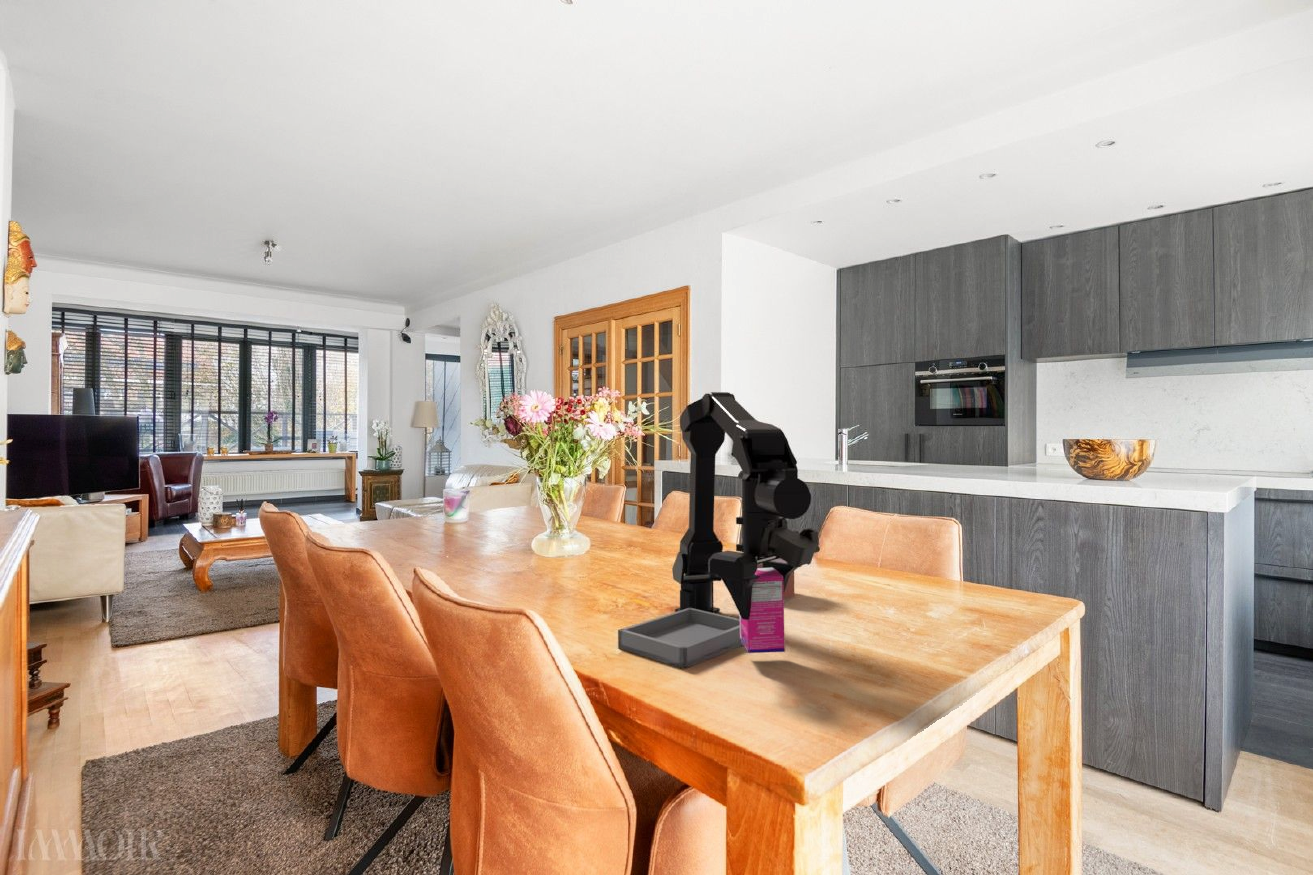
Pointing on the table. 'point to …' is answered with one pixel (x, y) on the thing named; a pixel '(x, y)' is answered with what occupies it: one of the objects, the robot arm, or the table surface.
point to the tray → (682, 637)
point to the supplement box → (765, 614)
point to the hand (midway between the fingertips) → (761, 613)
